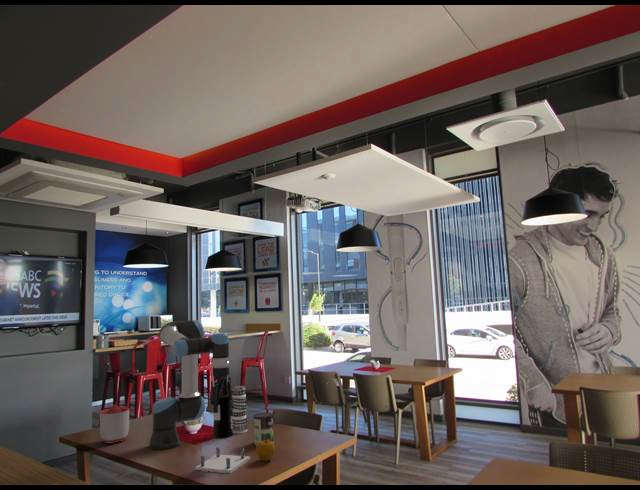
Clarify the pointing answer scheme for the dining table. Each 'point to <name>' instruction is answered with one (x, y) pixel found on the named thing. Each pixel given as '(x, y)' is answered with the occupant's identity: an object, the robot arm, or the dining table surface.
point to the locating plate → (222, 462)
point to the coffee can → (263, 427)
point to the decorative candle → (239, 409)
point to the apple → (265, 450)
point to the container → (223, 418)
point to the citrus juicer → (114, 424)
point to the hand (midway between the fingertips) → (222, 417)
